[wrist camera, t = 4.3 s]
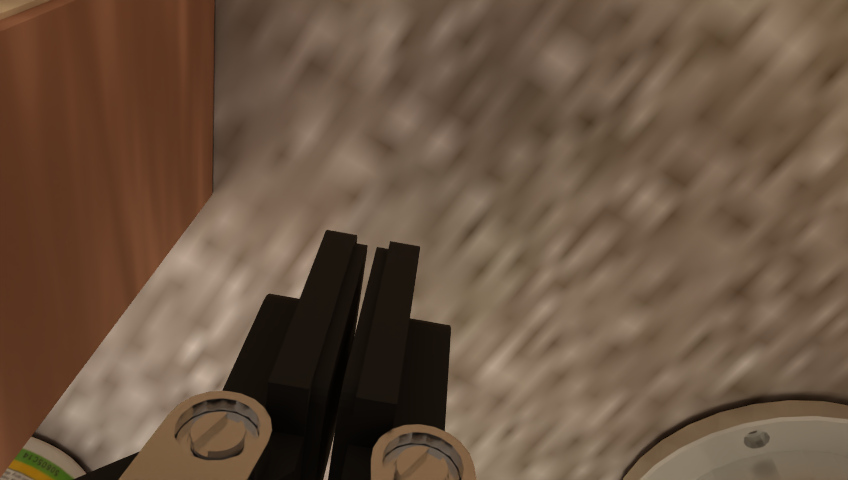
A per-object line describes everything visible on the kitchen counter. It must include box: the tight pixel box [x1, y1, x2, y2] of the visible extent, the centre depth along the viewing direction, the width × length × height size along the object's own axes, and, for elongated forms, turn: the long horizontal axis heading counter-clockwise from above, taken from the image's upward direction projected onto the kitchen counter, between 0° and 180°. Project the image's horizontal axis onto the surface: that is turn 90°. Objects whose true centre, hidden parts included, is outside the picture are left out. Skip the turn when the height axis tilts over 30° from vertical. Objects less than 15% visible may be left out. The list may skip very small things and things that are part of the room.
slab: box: [0, 0, 215, 478], centre depth 15 cm, size 2×8×14 cm, turn 171°
